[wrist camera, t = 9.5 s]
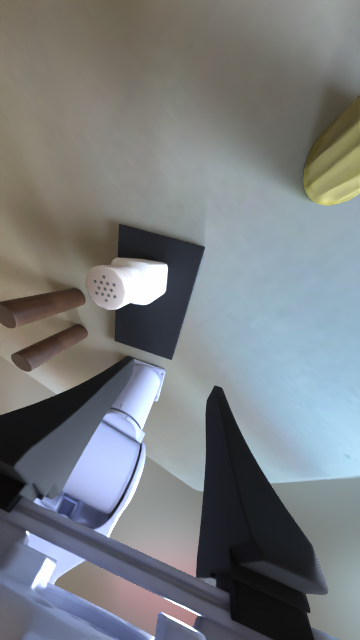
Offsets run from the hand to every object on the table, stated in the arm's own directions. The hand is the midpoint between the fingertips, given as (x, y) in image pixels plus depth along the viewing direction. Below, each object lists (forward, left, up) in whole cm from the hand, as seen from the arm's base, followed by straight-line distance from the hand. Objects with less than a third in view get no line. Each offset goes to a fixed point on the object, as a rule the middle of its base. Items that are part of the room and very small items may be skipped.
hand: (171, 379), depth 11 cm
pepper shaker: (+6, +6, -10) cm, 13 cm away
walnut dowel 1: (-1, +19, -10) cm, 22 cm away
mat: (+2, +6, -10) cm, 12 cm away
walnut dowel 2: (-8, +19, -10) cm, 23 cm away
